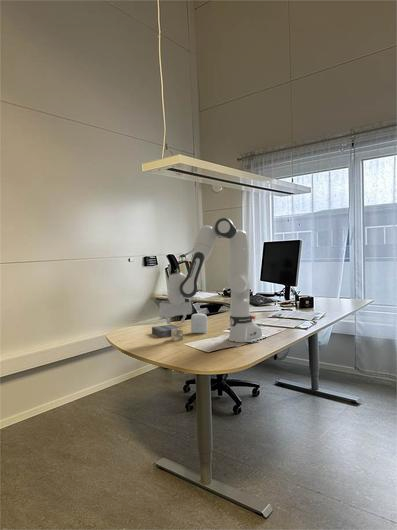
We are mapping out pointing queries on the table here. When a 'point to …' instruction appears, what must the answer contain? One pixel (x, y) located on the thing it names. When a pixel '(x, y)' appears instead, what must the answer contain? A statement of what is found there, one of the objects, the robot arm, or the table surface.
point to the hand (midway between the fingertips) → (175, 322)
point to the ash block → (177, 334)
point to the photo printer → (199, 323)
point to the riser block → (163, 330)
